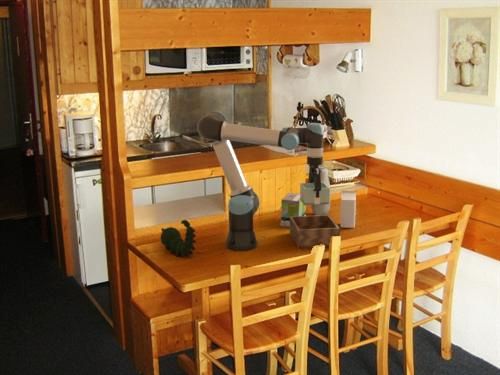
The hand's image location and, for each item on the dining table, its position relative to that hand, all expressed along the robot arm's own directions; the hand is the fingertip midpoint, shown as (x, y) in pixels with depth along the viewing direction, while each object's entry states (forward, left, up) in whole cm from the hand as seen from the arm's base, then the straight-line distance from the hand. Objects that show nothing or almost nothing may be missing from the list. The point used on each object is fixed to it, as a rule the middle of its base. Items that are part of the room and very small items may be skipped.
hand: (314, 200), depth 318 cm
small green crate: (0, 0, -1) cm, 1 cm away
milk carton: (+22, +19, -20) cm, 35 cm away
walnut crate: (0, 0, -20) cm, 20 cm away
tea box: (-5, +28, -20) cm, 35 cm away
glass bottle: (+12, +39, -20) cm, 46 cm away
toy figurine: (-67, -8, -20) cm, 70 cm away
